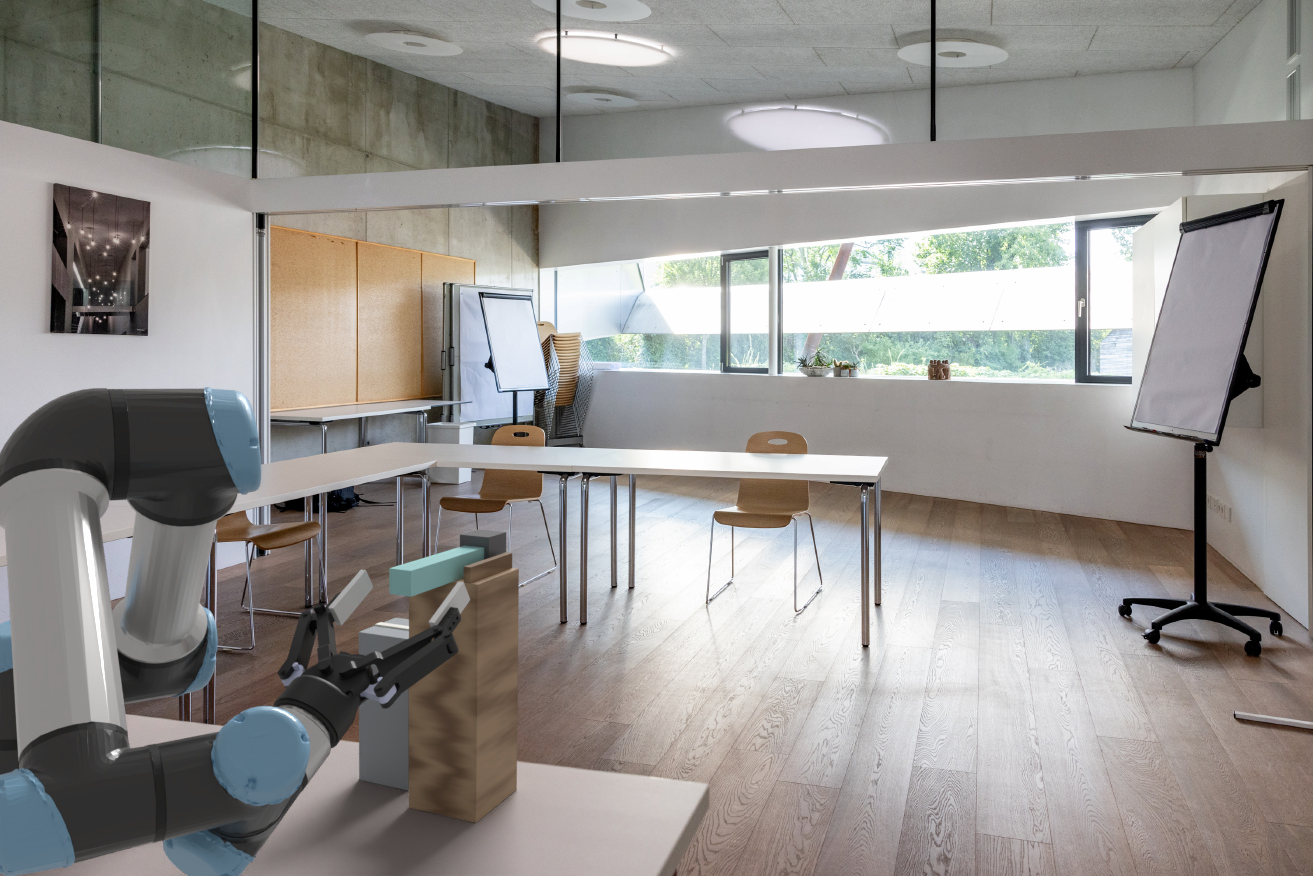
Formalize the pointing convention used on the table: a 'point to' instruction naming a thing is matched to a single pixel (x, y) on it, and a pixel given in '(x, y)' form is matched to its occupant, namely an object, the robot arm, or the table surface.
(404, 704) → the band block
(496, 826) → the table surface
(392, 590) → the teal square rod
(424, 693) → the post
